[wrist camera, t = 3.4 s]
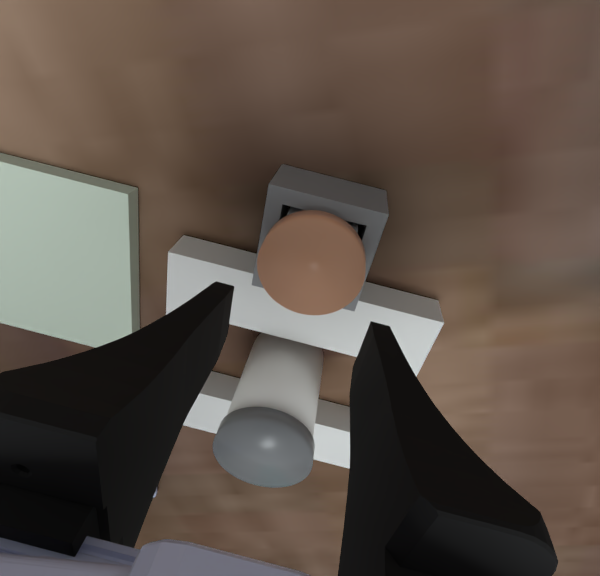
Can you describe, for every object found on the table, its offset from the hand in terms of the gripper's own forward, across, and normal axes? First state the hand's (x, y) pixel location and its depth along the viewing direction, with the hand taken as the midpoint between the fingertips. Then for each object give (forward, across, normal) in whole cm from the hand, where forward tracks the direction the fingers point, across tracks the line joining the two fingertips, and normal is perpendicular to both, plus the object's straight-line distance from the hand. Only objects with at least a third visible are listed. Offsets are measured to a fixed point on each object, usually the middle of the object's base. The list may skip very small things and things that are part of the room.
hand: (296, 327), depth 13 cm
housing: (+8, 0, +6) cm, 11 cm away
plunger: (+8, 0, 0) cm, 8 cm away
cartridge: (+8, 0, +9) cm, 12 cm away
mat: (+8, +15, +6) cm, 18 cm away
